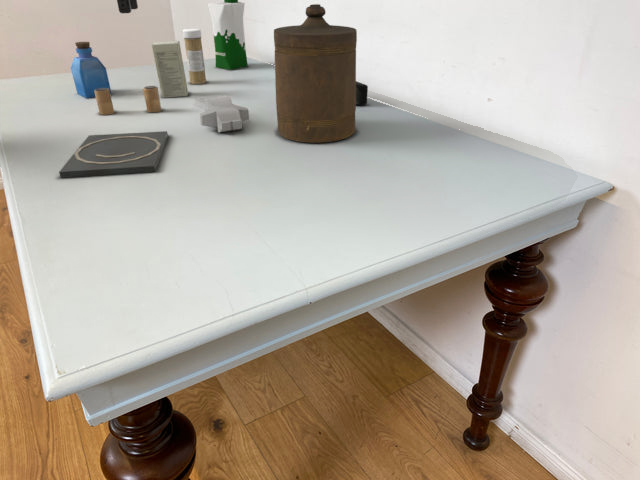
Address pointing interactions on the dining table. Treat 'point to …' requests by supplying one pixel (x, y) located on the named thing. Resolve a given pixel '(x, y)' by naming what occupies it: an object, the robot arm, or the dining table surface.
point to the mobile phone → (361, 93)
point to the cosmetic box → (170, 68)
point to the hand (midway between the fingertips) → (129, 11)
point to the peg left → (104, 101)
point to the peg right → (152, 99)
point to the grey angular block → (222, 113)
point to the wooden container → (315, 79)
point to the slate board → (116, 154)
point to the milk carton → (228, 34)
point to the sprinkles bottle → (194, 55)
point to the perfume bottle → (88, 71)
